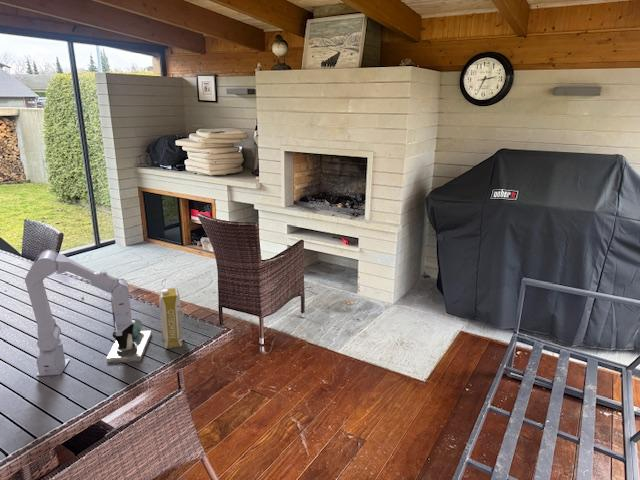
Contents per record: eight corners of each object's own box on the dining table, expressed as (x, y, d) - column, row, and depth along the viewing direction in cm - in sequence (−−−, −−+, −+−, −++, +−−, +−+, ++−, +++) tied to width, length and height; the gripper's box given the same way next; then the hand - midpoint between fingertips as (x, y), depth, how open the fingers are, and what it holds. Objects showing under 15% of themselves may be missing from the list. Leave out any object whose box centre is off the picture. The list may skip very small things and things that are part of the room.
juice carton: (162, 338, 183) (157, 286, 176) (182, 335, 186) (178, 283, 179) (163, 350, 175) (158, 295, 168) (184, 347, 178) (180, 293, 170)
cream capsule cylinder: (131, 352, 169) (129, 336, 167) (119, 353, 169) (117, 337, 166) (134, 346, 173) (132, 331, 171) (122, 347, 173) (120, 331, 171)
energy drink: (114, 319, 198) (111, 294, 194) (126, 317, 200) (124, 293, 196) (113, 324, 193) (110, 299, 189) (126, 322, 195) (123, 298, 191)
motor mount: (140, 361, 168) (138, 342, 165) (107, 362, 166) (104, 344, 163) (151, 334, 186) (149, 317, 184) (121, 336, 184) (119, 319, 182)
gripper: (128, 320, 160) (132, 352, 164) (138, 302, 173) (141, 332, 177) (108, 320, 158) (112, 353, 163) (119, 302, 172) (122, 333, 176)
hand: (126, 342), depth 170 cm, fingers open, 7 cm apart
